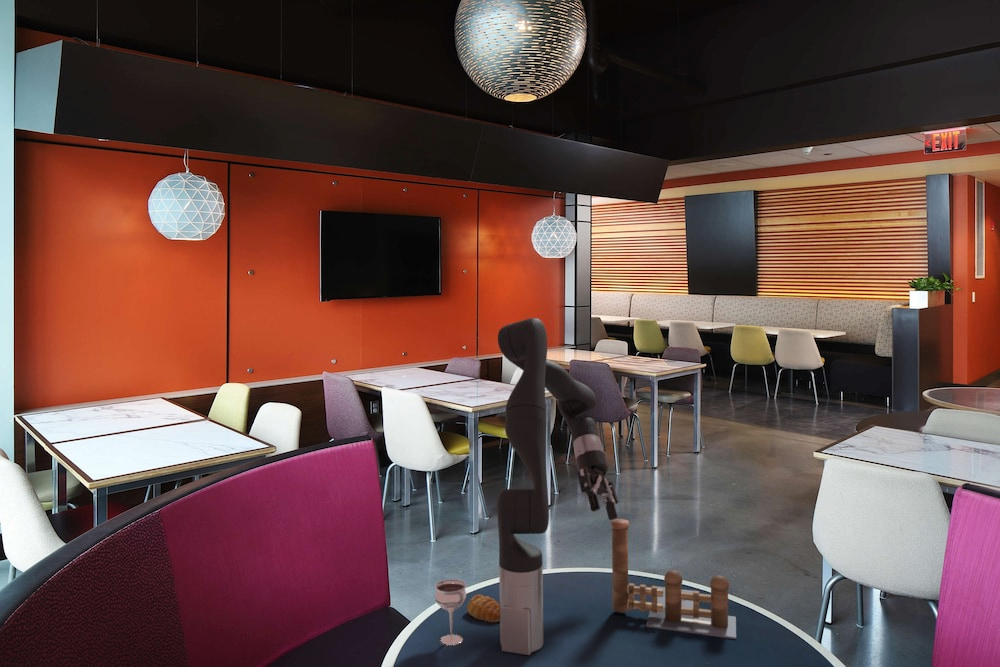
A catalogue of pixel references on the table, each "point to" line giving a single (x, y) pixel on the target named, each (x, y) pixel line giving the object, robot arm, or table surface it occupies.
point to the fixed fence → (696, 600)
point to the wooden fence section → (621, 576)
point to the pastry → (484, 608)
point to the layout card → (690, 622)
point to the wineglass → (450, 604)
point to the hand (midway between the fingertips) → (604, 514)
